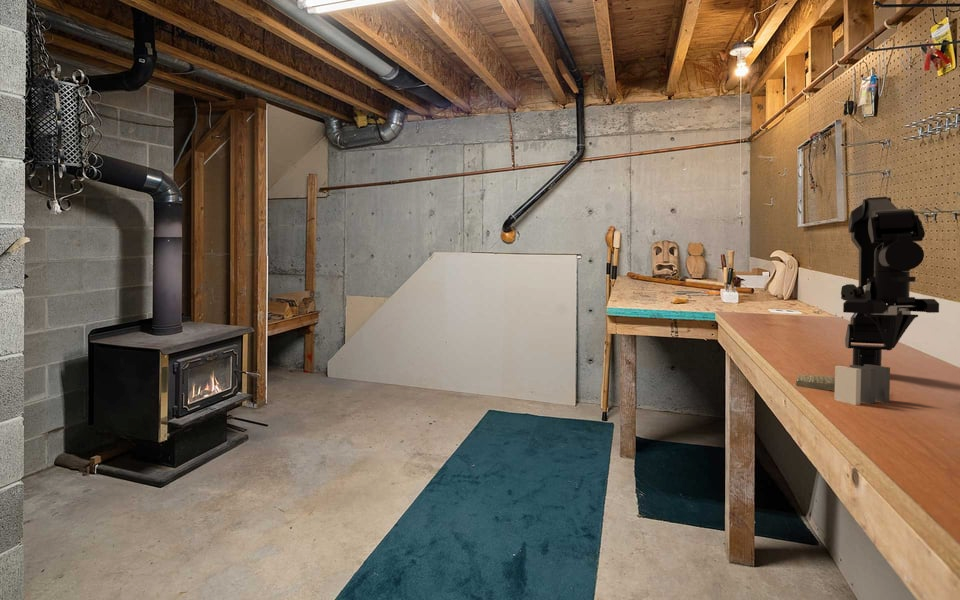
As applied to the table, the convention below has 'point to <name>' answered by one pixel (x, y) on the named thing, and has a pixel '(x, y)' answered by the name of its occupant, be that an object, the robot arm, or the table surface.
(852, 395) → the end domino
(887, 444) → the table surface
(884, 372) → the domino
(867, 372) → the domino
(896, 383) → the table surface
